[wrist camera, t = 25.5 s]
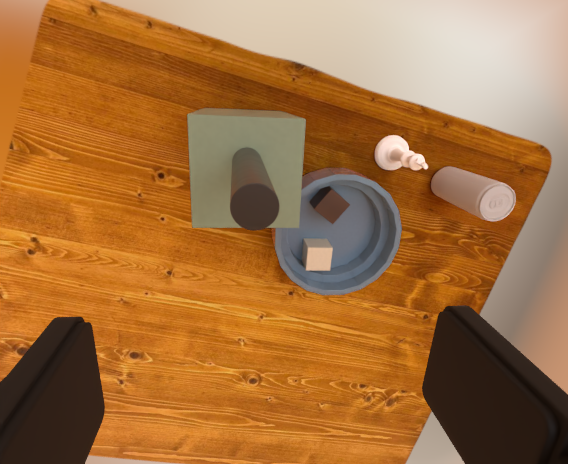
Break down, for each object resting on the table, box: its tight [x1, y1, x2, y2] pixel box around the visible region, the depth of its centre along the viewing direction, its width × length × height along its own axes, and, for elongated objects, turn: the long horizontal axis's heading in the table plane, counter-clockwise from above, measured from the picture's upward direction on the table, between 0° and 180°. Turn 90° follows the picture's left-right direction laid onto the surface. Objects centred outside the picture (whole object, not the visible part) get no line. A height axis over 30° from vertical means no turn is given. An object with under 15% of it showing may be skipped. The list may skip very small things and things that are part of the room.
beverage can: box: [431, 166, 516, 221], centre depth 49 cm, size 5×5×12 cm
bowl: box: [272, 168, 402, 295], centre depth 52 cm, size 18×18×6 cm
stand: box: [187, 108, 306, 228], centre depth 41 cm, size 10×10×18 cm
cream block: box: [302, 238, 333, 271], centre depth 53 cm, size 4×4×4 cm
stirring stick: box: [230, 147, 280, 231], centre depth 26 cm, size 3×3×14 cm
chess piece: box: [375, 135, 428, 170], centre depth 47 cm, size 5×5×10 cm
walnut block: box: [309, 186, 350, 224], centre depth 51 cm, size 4×4×4 cm
